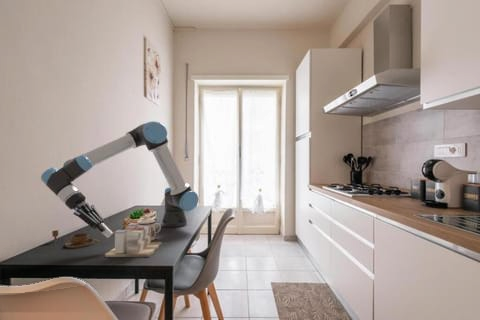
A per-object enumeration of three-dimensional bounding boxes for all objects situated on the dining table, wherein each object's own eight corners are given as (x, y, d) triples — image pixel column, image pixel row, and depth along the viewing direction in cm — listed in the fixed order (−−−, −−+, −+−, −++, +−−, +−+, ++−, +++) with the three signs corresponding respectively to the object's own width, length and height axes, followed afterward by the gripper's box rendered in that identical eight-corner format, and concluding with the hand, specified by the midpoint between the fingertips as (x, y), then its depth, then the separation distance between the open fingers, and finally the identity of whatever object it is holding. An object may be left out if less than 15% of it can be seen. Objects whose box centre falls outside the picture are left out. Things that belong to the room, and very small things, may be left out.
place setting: (60, 252, 119) (60, 239, 119) (49, 243, 133) (49, 231, 133) (103, 244, 132) (103, 231, 132) (89, 236, 146) (89, 225, 146)
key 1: (118, 250, 116) (118, 229, 116) (127, 250, 116) (127, 229, 116) (114, 253, 113) (114, 231, 113) (123, 253, 113) (123, 231, 113)
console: (123, 244, 129) (123, 223, 129) (161, 244, 129) (161, 223, 129) (105, 256, 112) (105, 232, 112) (149, 256, 112) (149, 232, 112)
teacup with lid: (139, 243, 132) (139, 218, 132) (134, 238, 139) (134, 215, 139) (163, 239, 138) (163, 215, 139) (157, 235, 146) (157, 213, 146)
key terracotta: (128, 245, 123) (128, 226, 123) (136, 246, 122) (136, 226, 123) (124, 248, 119) (124, 228, 119) (133, 248, 119) (133, 228, 119)
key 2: (130, 241, 129) (130, 223, 129) (138, 241, 129) (138, 223, 129) (127, 243, 126) (127, 224, 126) (135, 243, 126) (135, 224, 126)
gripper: (75, 201, 128) (111, 237, 127) (56, 205, 115) (96, 246, 114) (86, 189, 128) (122, 226, 127) (69, 193, 115) (109, 233, 114)
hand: (110, 235), depth 121 cm, fingers closed
